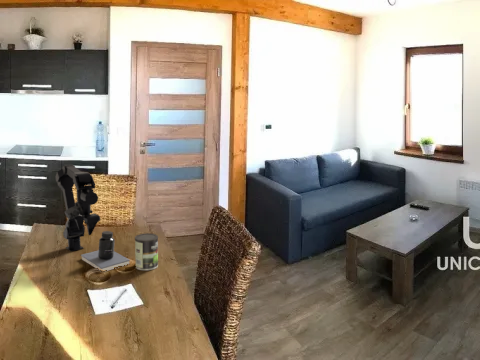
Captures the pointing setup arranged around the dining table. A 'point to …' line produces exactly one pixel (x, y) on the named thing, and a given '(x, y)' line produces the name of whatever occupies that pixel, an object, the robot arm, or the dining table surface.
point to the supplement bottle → (106, 246)
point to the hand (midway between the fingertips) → (85, 232)
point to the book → (105, 264)
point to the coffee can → (146, 251)
